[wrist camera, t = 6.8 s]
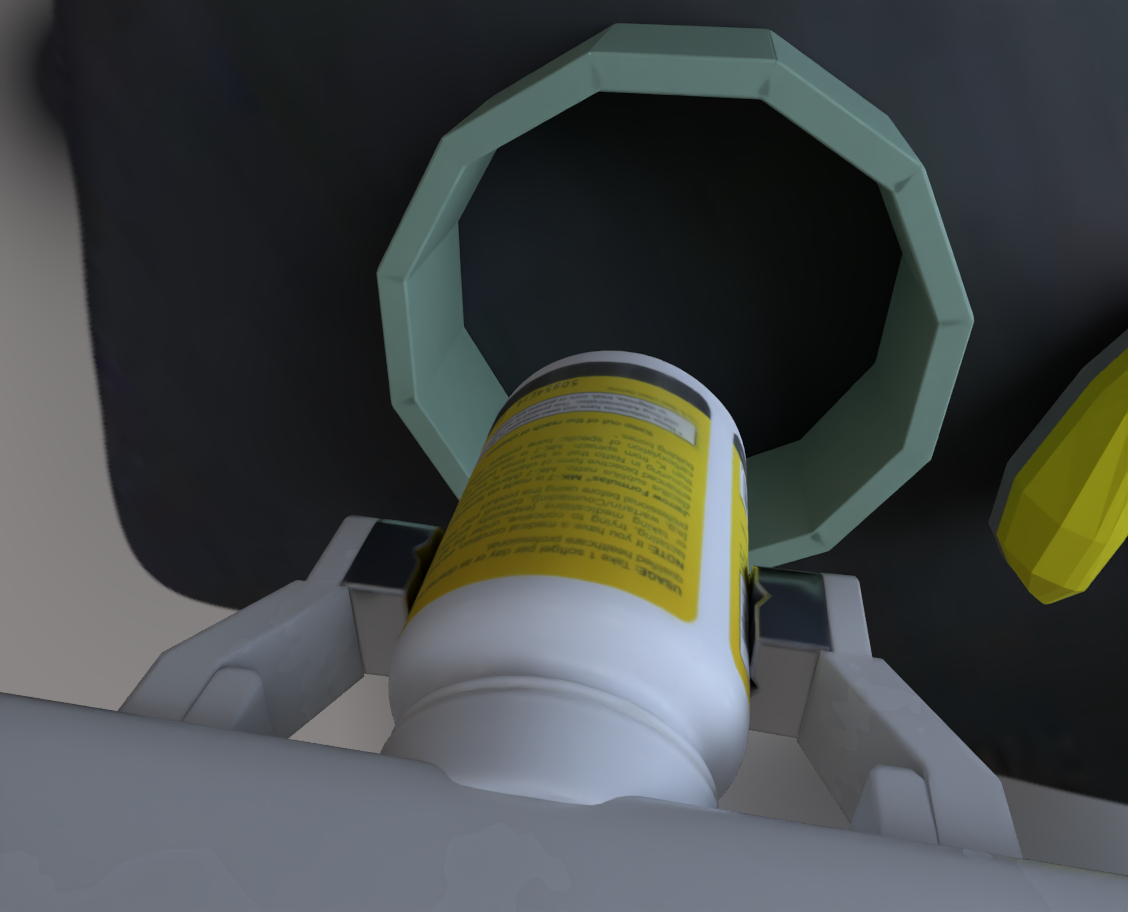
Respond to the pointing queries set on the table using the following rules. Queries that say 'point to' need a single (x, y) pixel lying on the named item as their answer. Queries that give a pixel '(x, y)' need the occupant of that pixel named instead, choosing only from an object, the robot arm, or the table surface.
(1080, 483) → the gaming controller
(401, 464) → the table surface
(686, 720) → the supplement bottle
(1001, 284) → the table surface
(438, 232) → the ring
